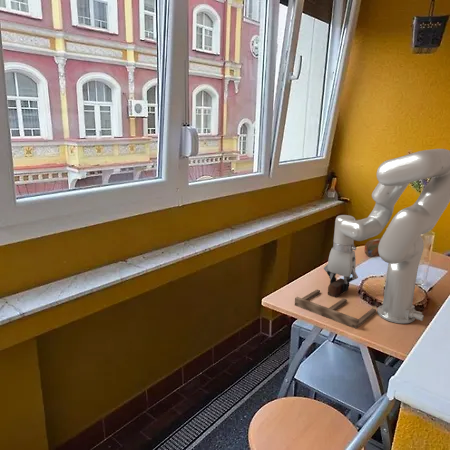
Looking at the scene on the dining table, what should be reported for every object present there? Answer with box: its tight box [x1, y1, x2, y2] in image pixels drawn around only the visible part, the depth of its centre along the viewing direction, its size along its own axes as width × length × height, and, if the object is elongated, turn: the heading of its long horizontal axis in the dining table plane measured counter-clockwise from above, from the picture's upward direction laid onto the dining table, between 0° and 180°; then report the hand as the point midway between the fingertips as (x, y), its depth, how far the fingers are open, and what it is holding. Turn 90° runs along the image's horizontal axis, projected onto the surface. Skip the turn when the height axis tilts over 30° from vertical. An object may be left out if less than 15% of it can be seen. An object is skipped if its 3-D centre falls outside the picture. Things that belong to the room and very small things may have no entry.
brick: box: [327, 278, 350, 298], centre depth 162 cm, size 11×4×5 cm, turn 137°
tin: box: [364, 237, 382, 258], centre depth 204 cm, size 15×3×8 cm, turn 119°
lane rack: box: [294, 289, 377, 330], centre depth 148 cm, size 24×16×3 cm, turn 47°
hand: (338, 289), depth 162 cm, fingers open, 4 cm apart
